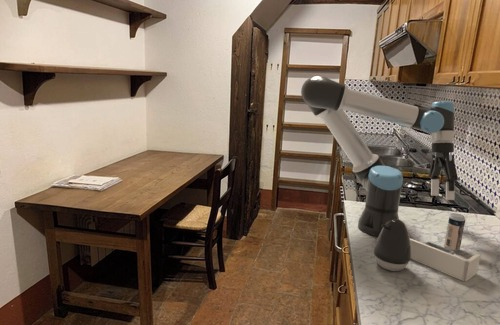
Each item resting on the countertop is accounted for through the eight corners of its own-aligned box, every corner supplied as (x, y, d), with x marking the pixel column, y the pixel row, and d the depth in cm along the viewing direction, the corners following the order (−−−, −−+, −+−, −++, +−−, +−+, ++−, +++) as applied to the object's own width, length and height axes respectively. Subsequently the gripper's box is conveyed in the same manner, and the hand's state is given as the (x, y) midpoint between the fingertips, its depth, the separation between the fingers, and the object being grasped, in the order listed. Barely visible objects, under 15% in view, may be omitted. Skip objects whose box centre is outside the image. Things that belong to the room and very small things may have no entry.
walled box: (465, 281, 101) (469, 262, 100) (388, 248, 119) (390, 232, 118) (480, 270, 108) (484, 252, 106) (405, 241, 126) (407, 225, 125)
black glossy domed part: (364, 261, 110) (370, 215, 106) (390, 256, 114) (396, 211, 111) (389, 278, 101) (396, 228, 97) (416, 272, 105) (424, 223, 102)
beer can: (460, 252, 119) (467, 219, 116) (444, 249, 121) (450, 216, 118) (458, 247, 123) (464, 214, 121) (442, 244, 125) (448, 211, 122)
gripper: (469, 141, 124) (468, 202, 125) (439, 143, 149) (438, 193, 149) (446, 141, 125) (446, 201, 125) (420, 143, 150) (420, 193, 150)
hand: (442, 197), depth 137 cm, fingers open, 13 cm apart
